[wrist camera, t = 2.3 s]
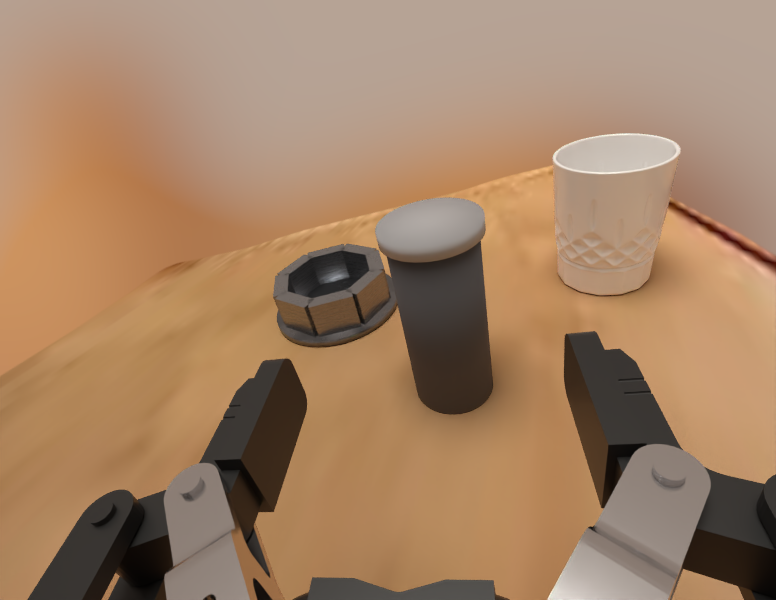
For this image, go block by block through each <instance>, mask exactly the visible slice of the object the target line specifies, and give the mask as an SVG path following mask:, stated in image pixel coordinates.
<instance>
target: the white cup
mask: <svg viewBox="0 0 776 600" xmlns="http://www.w3.org/2000/svg"><path fill="white" fill-rule="evenodd" d="M680 151H681V150H680V146H679V145H678V144H677V143H676V142H674V141H672V140H670V139H667V138H664V137H660V136H655V135H647V134H610V135H602V136H596V137H590V138H585V139H582V140H578V141H575V142H572V143H570V144H567V145H565V146H563V147H561V148H560V149H559V150H557V151H556V152H555V153H554V155H553V185H554V219H555V236H556V243H557V247H558V250H557V253H558V274H559V276H560V277H561V279H562V280H563V282H564V283H565V284H566V285H568V286H570V287H572V288H574V289H576V290H578V291H580V292H584V293H590V294H595V295H620V294H624V293H627V292H630V291H633V290H636V289H639V288H640V287H641V286H642V285H643V284H644V283H645V282H646V281H647V280H648V279H649V276H650V272H651V267H652V263H653V258H654V253H655V249H656V247H657V245H658V243H659V239H660V236H661V231H662V227H663V224H664V220H665V216H666V213H667V208H668V204H669V200H670V195H671V191H672V186H673V182H674V177H675V173H676V169H677V164H678V160H679V156H680Z"/></svg>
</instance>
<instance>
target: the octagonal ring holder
mask: <svg viewBox="0 0 776 600" xmlns="http://www.w3.org/2000/svg"><path fill="white" fill-rule="evenodd" d="M273 298H274V300H275V302H276V305H277V307H278V314H277V322H278V325H279V328H280V330H281V332H282V334H283V335H284V336H285V337H286V338H287V339H289V340H290V341H292V342H294V343H296V344H299V345H303V346H309V347H328V346H335V345H340V344H344V343H347V342H351V341H353V340H356V339H358V338H361V337H363V336H365V335H367V334H369V333H371V332H372V331H374V330H375V329H377V328H378V327H380V326H381V325H382V324H383V323H384V322H385V321H387V320H388V318H389V317H390V316H391V315H392V314H393V312H394V311H395V309H396V306H397V304H398V303H397V299H396V295H395V290H394V286H393V281H392V278H391V277H390V276H389V275H387V274H385V270H384V267H383V263H382V260H381V257H380V254H379V251H378V250H376V249H375V248H369V247H364V246H358V245H352V244H346V245H345V246H344V244H341V245H337V246H333V247H329V248H325V249H322V250H318V251H314V252H310V253H308V255H303V256H301V257H300V258H299V259H297V260H296V261H294V262H293V263H292V264H290V265H289V266H287V267H286V268H285V269H283V270H282V271H280V272H279V273H278V276H275V285H274V294H273Z"/></svg>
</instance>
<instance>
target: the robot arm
mask: <svg viewBox="0 0 776 600" xmlns="http://www.w3.org/2000/svg"><path fill="white" fill-rule="evenodd" d="M564 382H565V389H566V394H567V398H568V401H569V404H570V407H571V411H572V414H573V417H574V420H575V424H576V427H577V430H578V433H579V437H580V440H581V443H582V446H583V450H584V453H585V456H586V459H587V463H588V466H589V469H590V472H591V476H592V479H593V482H594V485H595V489H596V492H597V495H598V498H599V502H600V505H601V508H604V510H603V512H602V513H601V515H600V517H599V519H598V521H597V523H596V524H595V525H594V526H593V527H591V526H590V527H588V528H587V530H586V531H585V532H584V534H583V535H582V537H581V539H580V540H579V542H578V544H577V546H576V548H575V550H574V551H573V553H572V555H571V557H570V559H569V561H568V562H567V564H566V566H565V568H564V570H563V572H562V574H561V575H560V577H559V579H558V581H557V583H556V585H555V586H554V588H553V590H552V592H551V594H550V596H549V597H548V599H547V600H672V598H673V595H674V592H675V590H676V587H677V584H678V582H679V579H680V576H681V574H682V571H683V569H686V570H689V571H692V572H695V573H698V574H702V575H705V576H708V577H711V578H714V579H717V580H721V581H724V582H727V583H730V584H733V585H736V586H738V587H739V589H740V591H741V594H742V596H743V598H744V600H776V475H774V476H772V477H771V478H769V479H768V480H767V482H766V483H765V484H762V483H757V482H753V481H748V480H744V479H739V478H735V477H730V476H726V475H723V474H719V473H717V472H714V471H711V470H709V469H707V468H705V467H704V466H703V465H702V464H701V463H700V462H699V461H698V460H697V459H696V458H695V457H693V456H692V455H691V454H689V453H687V452H686V451H683V449H682V448H681V447H680V445H679V444H678V442H677V440H676V438H675V436H674V434H673V432H672V430H671V428H670V427H669V425H668V423H667V421H666V419H665V417H664V415H663V413H662V411H661V409H660V407H659V405H658V404H657V402H656V400H655V398H654V396H653V394H651V390H650V388H649V386H648V384H647V383H646V381H644V377H643V375H642V373H641V371H640V369H639V367H638V365H637V363H636V362H635V361H634V360H633V359H632V358H630V357H629V356H628V355H627V354H626V353H624V352H623V351H622V350H621V349H611V350H604V348H603V345H602V343H601V341H600V339H599V336H598V334H597V333H596V332H595V331H593V332H582V333H571V334H566V335H565V349H564ZM306 410H307V398H306V394H305V391H304V389H303V386H302V384H301V382H300V380H299V377H298V375H297V373H296V371H295V368H294V366H293V364H292V362H291V360H290V359H276V360H265V361H263V362H262V363H261V365H260V367H259V369H258V371H257V373H256V375H255V377H254V378H250V379H248V380H247V381H246V382H245V383H244V384H243V385H242V386H241V387H240V388H239V389H238V390H237V391H236V393H235V395H234V397H233V399H232V401H231V403H230V405H229V408H228V409H227V411H226V412H225V414H224V416H223V420H221V422H220V424H219V426H218V428H217V430H216V432H215V434H214V436H213V438H212V440H211V441H210V443H209V445H208V447H207V449H206V451H205V453H204V455H203V457H202V459H201V461H200V462H199V464H195V465H193V466H191V467H189V468H187V469H185V470H184V471H182V472H181V473H180V474H178V475H177V476H176V477H175V478H174V479H173V481H172V482H171V483H170V485H169V486H168V488H167V490H165V491H162V492H159V493H156V494H153V495H150V496H147V497H144V498H141V499H138V500H137V499H136V498H135V497H134V496H133V495H132V494H131V493H130V492H129V491H127V490H115V491H112V492H110V493H107V494H105V495H104V496H102V497H100V498H99V499H97V500H96V501H95V502H94V503H92V504H91V505H90V506H89V507H88V508H87V509H86V510H85V512H84V513H83V514H82V515H81V517H80V518H79V520H78V521H77V523H76V525H75V526H74V528H73V529H72V531H71V532H70V534H69V536H68V537H67V539H66V540H65V542H64V543H63V545H62V546H61V548H60V550H59V551H58V553H57V554H56V556H55V557H54V559H53V561H52V562H51V564H50V565H49V567H48V568H47V570H46V571H45V573H44V575H43V576H42V578H41V579H40V581H39V582H38V584H37V586H36V587H35V589H34V590H33V592H32V593H31V595H30V596H29V598H28V600H101V599H102V598H103V596H104V594H105V592H106V590H107V588H108V586H109V584H110V582H111V580H112V578H113V576H114V574H115V572H116V573H117V574H118V575H119V576H120V577H119V579H118V581H117V583H116V585H115V587H114V589H113V591H112V593H111V595H110V597H109V599H108V600H285V598H284V597H283V595H282V593H281V591H280V589H279V586H278V584H277V582H276V579H275V576H274V573H273V570H272V568H271V565H270V562H269V559H268V556H267V553H266V551H265V548H264V545H263V542H262V539H261V537H260V534H259V531H258V528H257V526H256V524H255V520H256V518H257V515H258V512H274V509H275V506H276V503H277V500H278V497H279V494H280V491H281V488H282V485H283V482H284V479H285V476H286V473H287V469H288V466H289V463H290V460H291V457H292V454H293V451H294V448H295V445H296V442H297V439H298V436H299V433H300V430H301V427H302V424H303V420H304V417H305V414H306ZM293 600H509V599H507V598H504V597H502V596H499V595H496V593H495V587H494V581H493V580H443V581H439V582H436V583H432V584H429V585H425V586H421V587H418V588H414V589H410V590H407V591H403V592H394V591H391V590H388V589H385V588H382V587H379V586H376V585H373V584H370V583H367V582H364V581H361V580H358V579H355V578H312V581H311V586H310V590H309V593H305V594H303V595H301V596H299V597H296V598H294V599H293Z"/></svg>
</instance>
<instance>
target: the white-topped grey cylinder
mask: <svg viewBox="0 0 776 600" xmlns="http://www.w3.org/2000/svg"><path fill="white" fill-rule="evenodd" d="M375 232H376V237H377V241H378V246H379V249H380V251H381V252H382V253H383V254H384V255H386V256H387V259H388V264H389V268H390V273H391V277H392V281H393V286H394V290H395V295H396V299H397V303H398V308H399V312H400V317H401V321H402V326H403V330H404V334H405V339H406V343H407V348H408V352H409V357H410V361H411V365H412V370H413V374H414V379H415V383H416V388H417V392H418V395H419V398H420V399H421V401H422V402H423V403H424V404H425V405H426V406H427V407H429V408H430V409H432V410H434V411H437V412H440V413H444V414H461V413H466V412H469V411H472V410H474V409H476V408H478V407H479V406H481V405H482V404H483V403H484V402H485V401H486V400H487V399H488V398H489V396H490V394H491V392H492V388H493V380H492V368H491V357H490V345H489V333H488V322H487V310H486V299H485V287H484V275H483V264H482V252H481V241H480V240H481V239H482V238H483V236H484V234H485V216H484V211H483V209H482V208H481V207H480V206H479V205H478V204H476V203H474V202H472V201H469V200H465V199H460V198H434V199H427V200H422V201H417V202H414V203H410V204H407V205H404V206H402V207H399V208H397V209H395V210H393V211H392V212H390V213H388V214H387V215H385V216H384V217H383V218H382V219H381V220H380V221H379V222H378V224H377V226H376V229H375Z"/></svg>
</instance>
